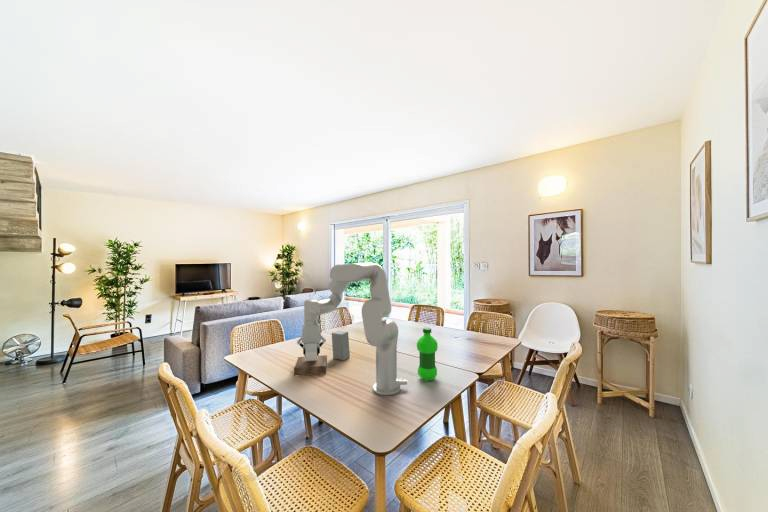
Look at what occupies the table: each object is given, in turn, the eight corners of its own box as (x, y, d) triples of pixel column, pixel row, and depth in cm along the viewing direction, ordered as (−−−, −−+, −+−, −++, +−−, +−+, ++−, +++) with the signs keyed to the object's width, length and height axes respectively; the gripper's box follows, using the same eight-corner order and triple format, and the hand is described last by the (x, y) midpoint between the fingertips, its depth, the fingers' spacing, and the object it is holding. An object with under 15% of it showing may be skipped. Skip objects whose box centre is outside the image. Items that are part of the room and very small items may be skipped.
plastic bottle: (424, 385, 133) (424, 332, 133) (413, 376, 142) (412, 327, 142) (442, 381, 137) (441, 329, 137) (429, 372, 146) (429, 325, 147)
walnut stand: (327, 362, 163) (326, 355, 163) (326, 373, 147) (326, 365, 147) (298, 364, 160) (298, 357, 160) (294, 375, 144) (294, 368, 144)
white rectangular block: (317, 356, 157) (317, 340, 157) (316, 360, 151) (316, 343, 151) (306, 357, 156) (306, 340, 156) (305, 361, 150) (305, 344, 150)
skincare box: (350, 357, 170) (349, 331, 170) (342, 361, 164) (342, 334, 164) (339, 355, 174) (339, 329, 174) (331, 358, 168) (331, 332, 168)
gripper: (327, 319, 159) (327, 351, 158) (295, 321, 156) (296, 353, 156) (327, 323, 151) (327, 356, 151) (294, 324, 148) (294, 358, 148)
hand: (311, 354), depth 153 cm, fingers closed on white rectangular block, 6 cm apart
